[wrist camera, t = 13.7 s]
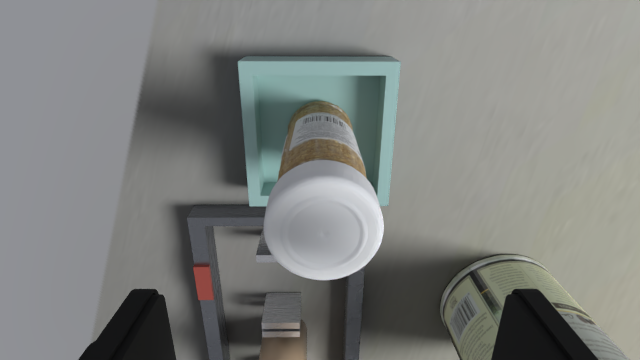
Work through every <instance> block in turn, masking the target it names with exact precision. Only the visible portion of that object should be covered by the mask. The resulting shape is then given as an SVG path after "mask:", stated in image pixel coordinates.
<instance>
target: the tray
mask: <svg viewBox="0 0 640 360" xmlns="http://www.w3.org/2000/svg"><path fill="white" fill-rule="evenodd" d="M400 64H401V62H400V61H398V60H397V59H395V58H393V57H388V56H245V57H244V58H242V59H241V60H239V61H238V71H239V83H240V96H241V108H242V121H243V133H244V145H245V158H246V170H247V183H248V195H249V206H267V203H268V199H269V195H270V193H271V191H272V189H273V187H274V186H275V184H276V183H277V181H278V174H279V170H280V165H281V156H282V151H283V147H284V143H285V139H286V136H287V134H288V125H289V122H290V119H291V117H292V116H293V114H294V113H295V112H296V111H297V110H298V109H299V108H300V107H302V106H304V105H306V104H308V103H310V102H315V101H325V102H329V103H332V104H334V105H337V106H339V107H340V108H341V109H342V110H343V111H344V112H345V113H346V114H347V115H348V117H349V119H350V122H351V124H352V128H353V133H354V136H355V138H356V142H357V145H358V148H359V151H360V154H361V157H362V160H363V163H364V167H365V171H366V177H367V180H368V181H369V182H370V184H371V185H372V187H373V188H374V191H375V193H376V195H377V198H378V201H379V205H380V206H388V201H389V190H390V179H391V167H392V156H393V144H394V133H395V122H396V110H397V99H398V87H399V76H400Z"/></svg>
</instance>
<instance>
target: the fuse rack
mask: <svg viewBox="0 0 640 360" xmlns="http://www.w3.org/2000/svg"><path fill="white" fill-rule="evenodd" d="M266 207H267V206H249V205H194V207H193V209H192V210H191V212H190V214H189V215H188V217H187V222H188V229H189V235H190V241H191V247H192V254H193V260H194V266H193V270H194V276H195V282H196V288H197V294H198V300H200V304H201V310H202V317H203V323H204V329H205V336H206V342H207V348H208V355H209V360H230V355H229V348H228V340H227V332H226V324H225V316H224V309H223V301H222V293H221V285H220V277H219V269H218V262H217V254H216V246H215V238H214V230H213V226H264V218H265V212H266ZM256 259H257V262H278V261H277V260H276V259H275V258H274V257H273V255H272V254H271V252H270V250H269V249H268V246H267V244H266V241H265V237H264V230H262V233H261V237H260V241H259V246H258V250H257V254H256ZM364 269H365V266H364V267H362V268H361V269H359V270H358V271H356V272H354V273H352V274H350V275H348V276H346V293H345V318H344V343H343V360H359V347H360V331H361V316H362V300H363V284H364ZM300 323H301V293H266V299H265V305H264V311H263V317H262V323H261V324H262V337H300Z"/></svg>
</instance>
